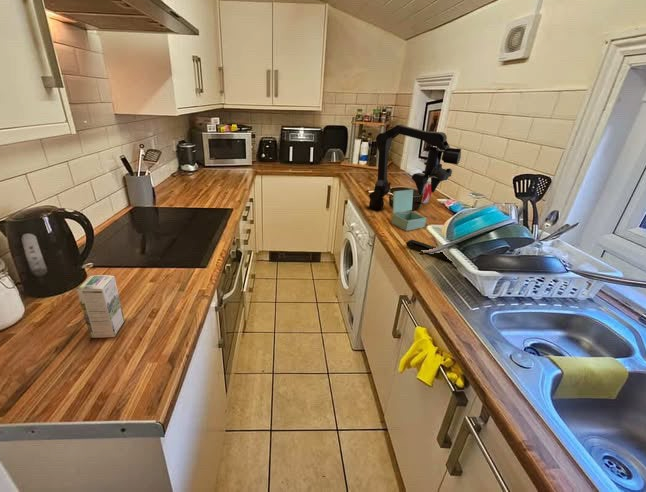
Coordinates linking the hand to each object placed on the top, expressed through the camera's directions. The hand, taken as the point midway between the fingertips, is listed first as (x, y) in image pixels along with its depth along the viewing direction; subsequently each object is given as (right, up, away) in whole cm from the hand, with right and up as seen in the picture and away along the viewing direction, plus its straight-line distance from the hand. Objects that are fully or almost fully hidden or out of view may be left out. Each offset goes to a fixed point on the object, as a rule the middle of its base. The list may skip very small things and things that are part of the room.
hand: (426, 193), depth 143 cm
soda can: (+11, -2, +31) cm, 33 cm away
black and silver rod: (-10, -26, -26) cm, 38 cm away
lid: (-11, -4, 0) cm, 12 cm away
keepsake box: (-9, -15, -1) cm, 18 cm away
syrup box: (-110, -41, -68) cm, 135 cm away
